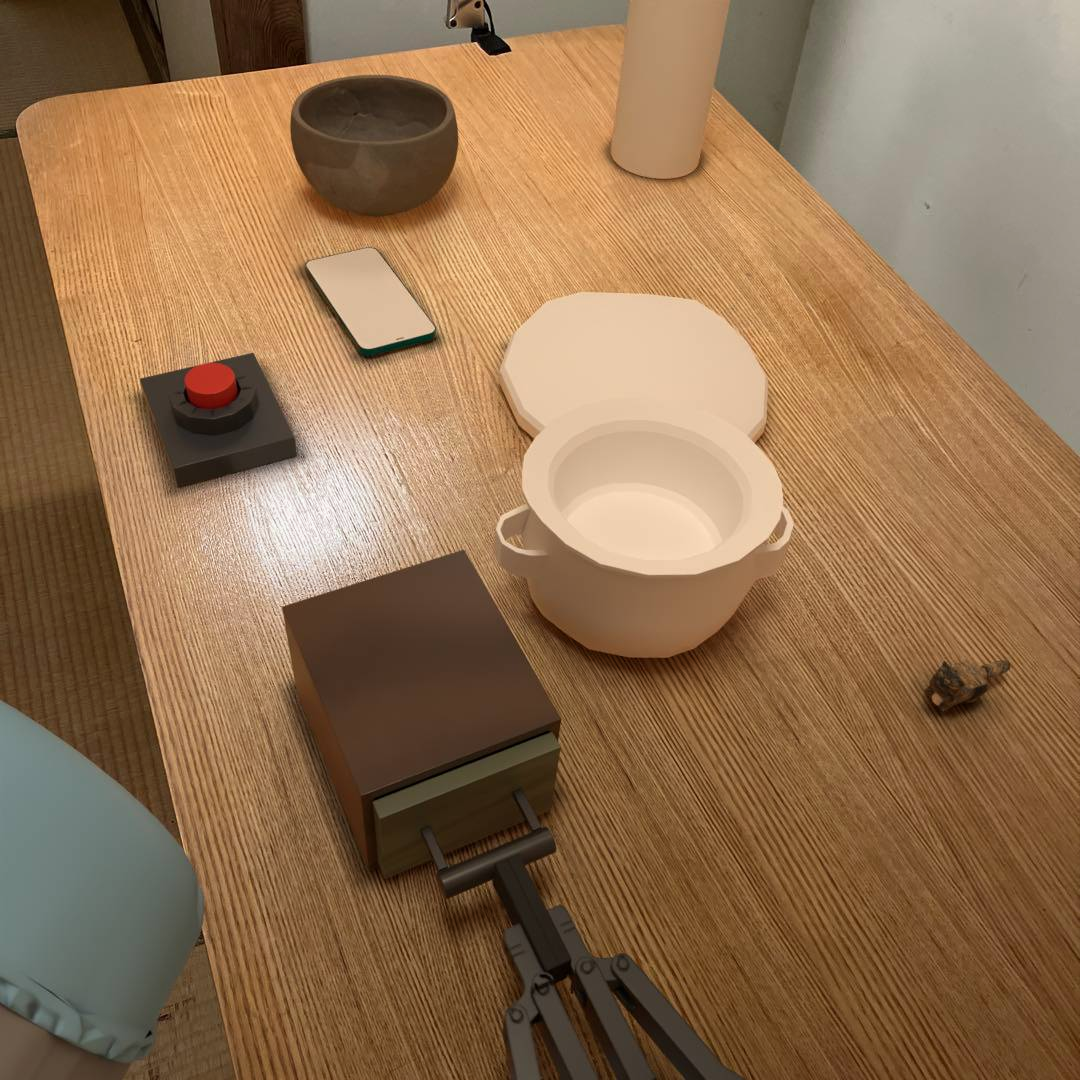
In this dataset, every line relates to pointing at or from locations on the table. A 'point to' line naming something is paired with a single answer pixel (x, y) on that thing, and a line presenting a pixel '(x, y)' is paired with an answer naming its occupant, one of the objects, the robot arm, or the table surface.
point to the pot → (643, 525)
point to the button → (211, 386)
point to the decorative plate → (631, 359)
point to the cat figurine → (962, 682)
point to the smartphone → (370, 301)
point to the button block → (218, 424)
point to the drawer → (470, 814)
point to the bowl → (374, 142)
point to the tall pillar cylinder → (666, 84)
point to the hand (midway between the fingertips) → (505, 869)
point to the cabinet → (410, 681)
